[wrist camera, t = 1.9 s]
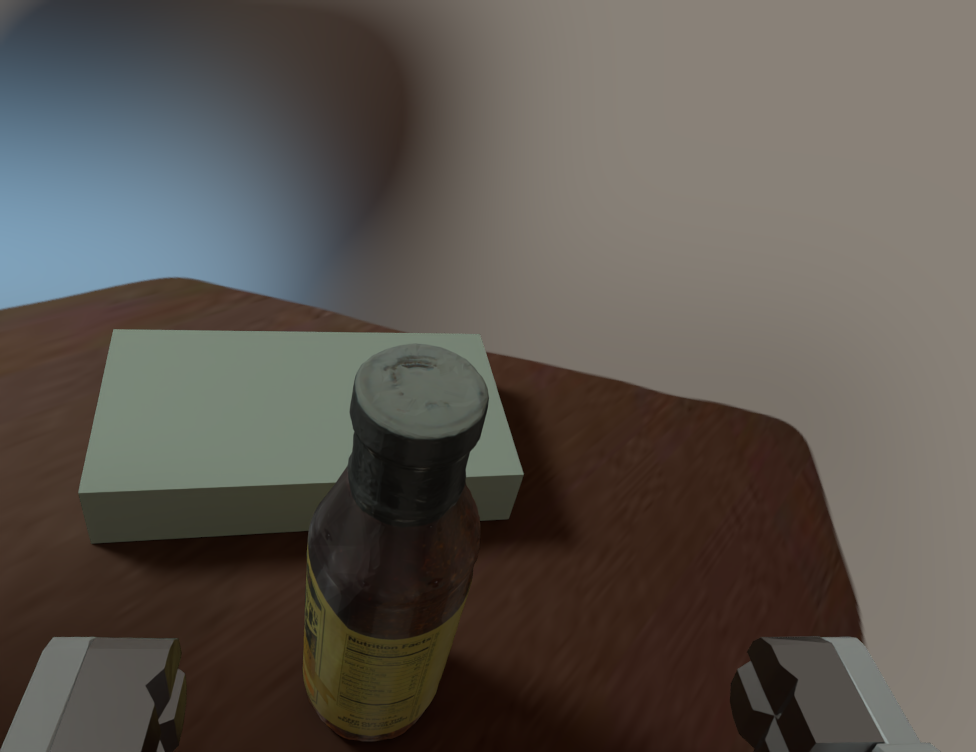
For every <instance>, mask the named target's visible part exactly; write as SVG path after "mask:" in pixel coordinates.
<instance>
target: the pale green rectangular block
mask: <svg viewBox="0 0 976 752" xmlns="http://www.w3.org/2000/svg"><path fill="white" fill-rule="evenodd" d="M414 343H417V344H427V345H432V346H438V347H442V348H444V349H447V350H449V351H451V352H454V353H456V354H458V355H459V356H461V357H463V358H465V359H466V360H467V361H469V362H470V363H471V364H472V365H473V366H474V367H475V369H476V370H477V372H478V373H479V374H480V375H481V376H482V377H483V379H484V381H485V383H486V386H487V388H488V394H489V402H488V410H487V414H486V418H485V422H484V425H483V429H482V433H481V437H480V440H479V441H478V442H477V444H476V446H475V447H474V448H473V449H472V450H471V451H470V454H469V459H468V462H467V466H466V480H465V481H466V485H467V487H468V488H469V490H470V491H471V494H472V497H473V499H474V500H475V502H476V505H477V508H478V514H479V516H480V521H485V520H502V519H509V517H510V514H511V511H512V508H513V505H514V502H515V499H516V496H517V493H518V490H519V487H520V484H521V481H522V478H523V475H524V474H523V470H522V467H521V464H520V461H519V458H518V454H517V451H516V448H515V445H514V442H513V438H512V435H511V432H510V429H509V426H508V422H507V419H506V416H505V413H504V410H503V406H502V403H501V400H500V397H499V394H498V390H497V387H496V384H495V381H494V378H493V374H492V371H491V368H490V365H489V362H488V358H487V355H486V352H485V349H484V346H483V342H482V339H481V336H480V334H429V333H426V334H425V333H422V334H421V333H350V332H271V331H192V330H113V334H112V338H111V343H110V348H109V352H108V357H107V362H106V366H105V371H104V376H103V380H102V385H101V390H100V394H99V399H98V403H97V408H96V413H95V417H94V422H93V427H92V431H91V436H90V441H89V445H88V450H87V455H86V459H85V464H84V468H83V473H82V478H81V482H80V487H79V492H78V494H79V498H80V502H81V506H82V510H83V514H84V518H85V522H86V526H87V529H88V533H89V537H90V541H91V544H93V543H110V542H127V541H144V540H161V539H178V538H195V537H212V536H229V535H246V534H263V533H280V532H297V531H309V526H310V522H311V519H312V517H313V514H314V512H315V510H316V509H317V507H318V505H319V503H320V502H321V501H322V500H323V498H324V497H325V496H326V495H327V493H328V492H329V491H330V489H331V488H332V487H333V486H334V484H335V483H336V482H337V480H338V479H339V477H340V476H341V474H342V473H343V471H344V470H345V469H346V467H347V465H348V460H349V457H350V455H351V453H352V448H353V434H354V430H353V426H352V421H351V418H350V413H349V411H350V404H351V398H352V392H353V385H354V380H355V376H356V373H357V371H358V370H359V368H360V366H361V365H362V364H363V363H364V362H365V361H367V360H368V359H369V358H370V357H371V356H372V355H375V354H377V353H379V352H381V351H383V350H386V349H388V348H392V347H395V346H399V345H406V344H414Z"/></svg>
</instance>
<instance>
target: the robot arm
mask: <svg viewBox="0 0 976 752" xmlns="http://www.w3.org/2000/svg"><path fill="white" fill-rule="evenodd" d="M747 653H748V655H749V657H750V660H751V661H750V662H748V663H747V664H745V665H744V666H742V667H741V668H739V669H737V671H736V673H735V675H734V678H733V680H732V682H731V689H730V705H731V710H732V715H733V719H734V722H735V724H736V727H737V730H738V733H739V734H740V735H741V736H742V737H743V738H744V739H745V740H746V741H747V742H748V743H749V744H750V745H751V746H752V747H753V748H754V752H941V751H939V750H938V749H937V748H936V747H935V746H933V745H932V744H931V743H921V742H920V741H919V739H918V737H917V735H916V734H915V732H914V730H913V728H912V727H911V725H910V723H909V722H908V720H907V718H906V716H905V715H904V713H903V711H902V709H901V708H900V706H899V704H898V702H897V701H896V699H895V697H894V695H893V694H892V692H891V690H890V688H889V687H888V685H887V683H886V682H885V680H884V678H883V676H882V675H881V673H880V671H879V669H878V668H877V666H876V664H875V663H874V661H873V659H872V657H871V655H870V654H869V652H868V650H867V648H866V647H865V645H864V644H863V643H862V642H860V641H859V640H858V639H857V638H853V637H819V636H810V637H761V638H759V639H757V640H755V641H753V642H752V644H751V646H750V647H749V649H748V651H747ZM181 654H182V652H181V648H180V643H179V638H98V637H53V638H52V640H51V641H50V642H49V643H48V645H47V646H46V647H45V649H44V650H43V652H42V654H41V656H40V659H39V661H38V663H37V666H36V668H35V670H34V673H33V675H32V677H31V680H30V682H29V684H28V687H27V689H26V691H25V694H24V696H23V698H22V701H21V703H20V705H19V708H18V710H17V712H16V715H15V717H14V719H13V721H12V724H11V726H10V728H9V731H8V733H7V735H6V738H5V740H4V742H3V745H2V747H1V749H0V752H173V751H174V750H175V749H176V748H177V747H178V746H179V741H180V737H181V732H182V728H183V723H184V715H185V708H186V678H185V673H184V672H182V671H181V670H179V669H178V666H179V662H180V658H181Z"/></svg>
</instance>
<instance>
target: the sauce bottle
mask: <svg viewBox="0 0 976 752" xmlns="http://www.w3.org/2000/svg"><path fill="white" fill-rule="evenodd" d="M488 402H489V394H488V388H487V386H486V383H485V381H484V379H483V377H482V376H481V375H480V374H479V373H478V372H477V370H476V369H475V367H474V366H473V365H472V364H471V363H470V362H469V361H467V360H466V359H465V358H463V357H461V356H459V355H458V354H456V353H454V352H451V351H449V350H447V349H444V348H442V347H438V346H432V345H427V344H417V343H414V344H406V345H399V346H395V347H392V348H388V349H386V350H383V351H381V352H379V353H377V354H375V355H372V356H371V357H370V358H369V359H368V360H367V361H365V362H364V363H363V364H362V365H361V366H360V368H359V370H358V371H357V373H356V376H355V380H354V385H353V392H352V398H351V404H350V411H349V413H350V418H351V421H352V426H353V430H354V434H353V448H352V453H351V455H350V457H349V460H348V465H347V467H346V469H345V470H344V471H343V473H342V474H341V476H340V477H339V479H338V480H337V482H336V483H335V484H334V486H333V487H332V488H331V489H330V491H329V492H328V493H327V495H326V496H325V497H324V498H323V500H322V501H321V502H320V503H319V505H318V507H317V509H316V510H315V512H314V514H313V517H312V519H311V522H310V526H309V532H308V545H307V576H306V597H305V626H304V653H303V678H304V683H305V687H306V690H307V697H308V700H309V703H311V704H312V706H313V707H314V709H315V711H316V712H317V714H318V715H319V717H320V719H321V720H322V721H323V722H324V723H326V725H327V726H328V727H330V728H331V729H332V730H333V731H334V732H335V733H336V734H338V735H340V736H342V737H343V738H346V739H350V740H359V741H382V740H384V739H393V738H395V737H398V736H400V735H401V734H403V733H405V732H406V731H407V729H409V728H410V727H411V726H412V725H414V724H415V723H416V721H417V720H418V719H419V718H420V717H421V715H422V714H423V712H424V711H425V710H426V709H427V707H428V706H429V704H430V703H431V701H432V699H433V698H434V696H435V694H436V692H437V688H438V684H439V682H440V679H441V676H442V673H443V671H444V668H445V665H446V661H447V658H448V655H449V653H450V649H451V646H452V642H453V639H454V636H455V633H456V630H457V627H458V623H459V620H460V617H461V614H462V611H463V608H464V605H465V601H466V598H467V595H468V592H469V589H470V585H471V582H472V576H473V567H474V564H475V562H476V560H477V558H478V552H479V550H480V540H481V539H480V536H481V534H480V533H481V530H480V516H479V514H478V508H477V505H476V502H475V500H474V499H473V497H472V494H471V491H470V490H469V488H468V487H467V485H466V481H465V480H466V466H467V462H468V459H469V454H470V451H471V450H472V449H473V448H474V447H475V446H476V444H477V442H478V441H479V440H480V437H481V433H482V429H483V425H484V422H485V418H486V414H487V410H488Z"/></svg>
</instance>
